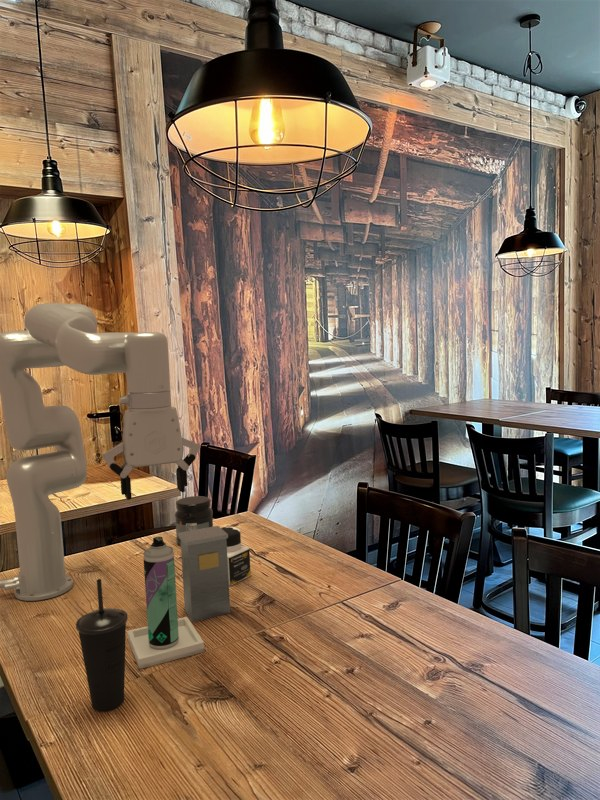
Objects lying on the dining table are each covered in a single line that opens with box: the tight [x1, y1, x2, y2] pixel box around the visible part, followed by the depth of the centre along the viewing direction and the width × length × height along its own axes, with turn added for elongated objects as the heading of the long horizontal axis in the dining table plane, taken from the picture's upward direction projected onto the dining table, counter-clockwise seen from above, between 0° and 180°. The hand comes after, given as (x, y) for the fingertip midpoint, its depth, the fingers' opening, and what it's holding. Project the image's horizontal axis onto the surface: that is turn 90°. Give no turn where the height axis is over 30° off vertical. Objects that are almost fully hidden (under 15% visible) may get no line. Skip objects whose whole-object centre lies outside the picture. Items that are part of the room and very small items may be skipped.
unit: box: [178, 525, 231, 623], centre depth 123 cm, size 9×7×17 cm
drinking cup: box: [75, 578, 129, 712], centre depth 92 cm, size 8×8×20 cm
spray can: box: [142, 536, 179, 650], centre depth 109 cm, size 6×6×20 cm
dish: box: [126, 616, 205, 670], centre depth 110 cm, size 12×12×2 cm
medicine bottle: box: [220, 526, 252, 587], centre depth 140 cm, size 7×7×12 cm
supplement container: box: [174, 495, 214, 546], centre depth 167 cm, size 10×10×12 cm
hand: (155, 494), depth 108 cm, fingers open, 9 cm apart
